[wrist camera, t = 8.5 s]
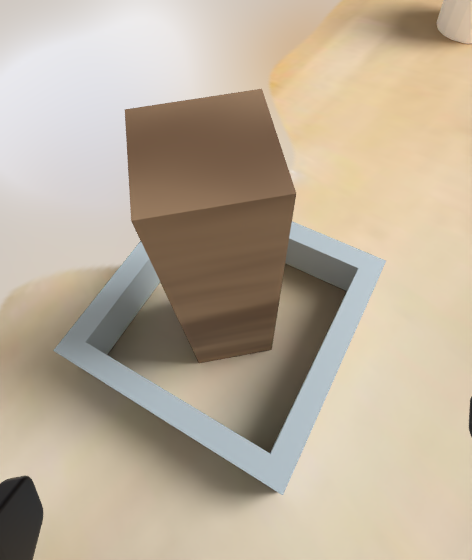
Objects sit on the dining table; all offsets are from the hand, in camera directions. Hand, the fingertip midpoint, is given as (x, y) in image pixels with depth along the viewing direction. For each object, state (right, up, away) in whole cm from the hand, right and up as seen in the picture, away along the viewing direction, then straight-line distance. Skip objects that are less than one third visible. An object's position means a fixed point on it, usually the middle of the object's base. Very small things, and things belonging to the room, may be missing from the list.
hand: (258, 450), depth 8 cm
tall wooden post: (-1, +1, +16) cm, 16 cm away
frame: (-1, +1, +16) cm, 16 cm away
